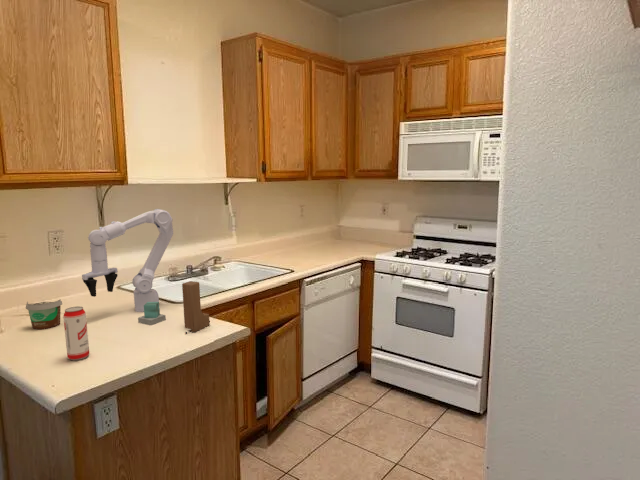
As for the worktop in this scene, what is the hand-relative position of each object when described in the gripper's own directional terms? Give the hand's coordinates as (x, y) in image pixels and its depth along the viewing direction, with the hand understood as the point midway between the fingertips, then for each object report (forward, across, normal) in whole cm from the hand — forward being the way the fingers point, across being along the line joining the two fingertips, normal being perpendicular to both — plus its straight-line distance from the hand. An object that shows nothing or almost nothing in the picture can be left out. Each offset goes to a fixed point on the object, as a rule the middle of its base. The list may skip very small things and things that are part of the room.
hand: (102, 293), depth 180 cm
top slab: (+9, -3, +23) cm, 25 cm away
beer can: (+11, +30, +26) cm, 41 cm away
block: (+7, -4, +23) cm, 24 cm away
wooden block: (+10, -7, +42) cm, 44 cm away
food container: (+11, +17, -12) cm, 23 cm away
